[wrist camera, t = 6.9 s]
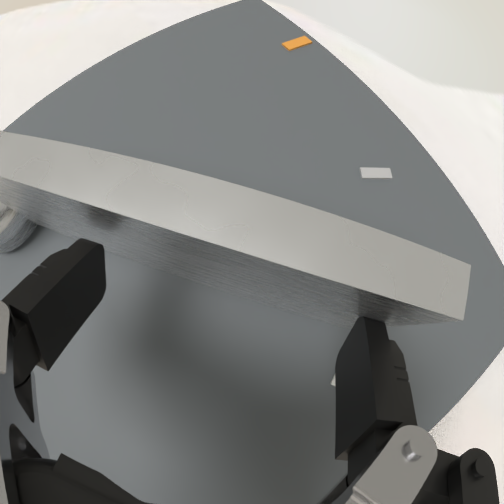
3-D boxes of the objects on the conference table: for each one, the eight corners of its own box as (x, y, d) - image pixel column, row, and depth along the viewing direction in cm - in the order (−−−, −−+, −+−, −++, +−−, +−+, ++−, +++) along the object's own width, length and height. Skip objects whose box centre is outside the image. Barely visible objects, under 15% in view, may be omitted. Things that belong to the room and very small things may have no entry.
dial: (-34, 236, 14) (-126, 189, 6) (4, 150, 15) (-70, 78, 7) (329, 380, 13) (432, 434, 5) (364, 251, 14) (474, 171, 6)
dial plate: (134, 572, 11) (127, 585, 10) (-54, 206, 17) (-66, 199, 15) (511, 315, 16) (528, 313, 14) (255, 9, 21) (255, -5, 20)
